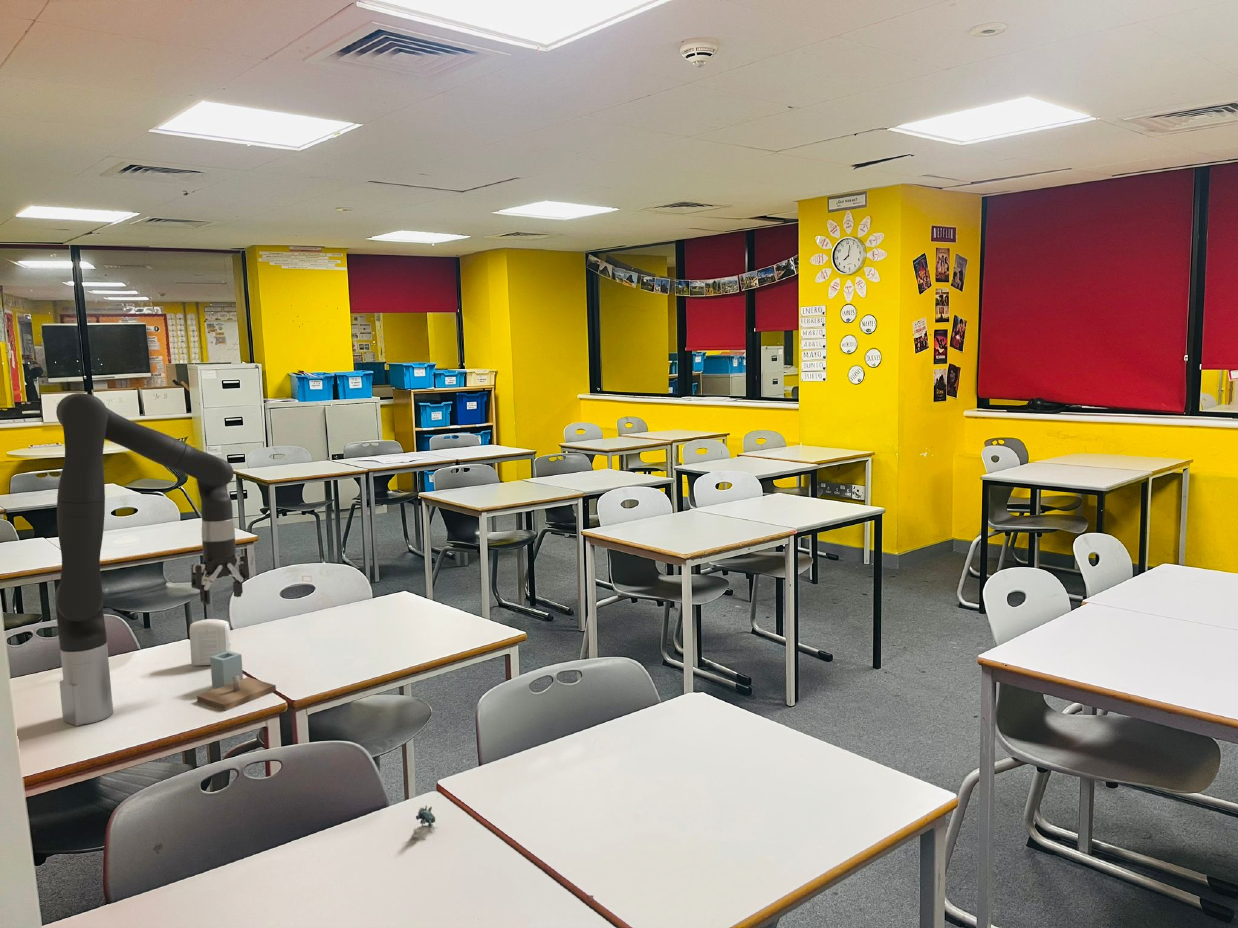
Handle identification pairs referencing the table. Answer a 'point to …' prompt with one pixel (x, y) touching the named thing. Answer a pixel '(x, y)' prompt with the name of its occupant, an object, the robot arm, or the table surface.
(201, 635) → the white rounded block
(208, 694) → the walnut pin plate
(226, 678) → the jaw block
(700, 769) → the table surface
